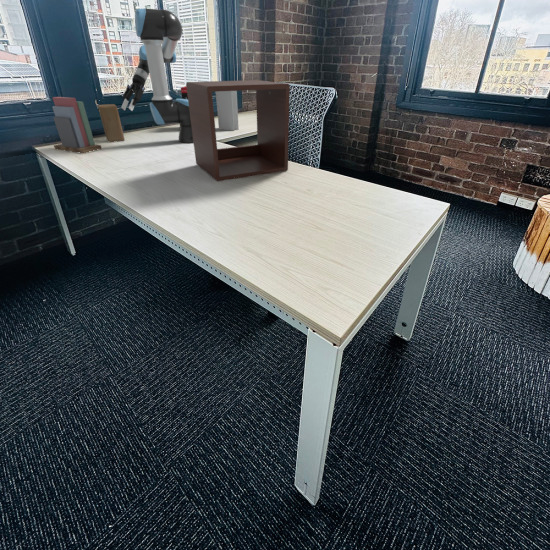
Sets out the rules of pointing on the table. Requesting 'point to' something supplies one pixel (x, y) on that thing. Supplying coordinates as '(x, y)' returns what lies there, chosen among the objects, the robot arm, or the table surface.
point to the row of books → (72, 122)
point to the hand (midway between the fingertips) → (126, 109)
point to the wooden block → (111, 122)
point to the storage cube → (269, 130)
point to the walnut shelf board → (81, 150)
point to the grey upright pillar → (227, 110)
